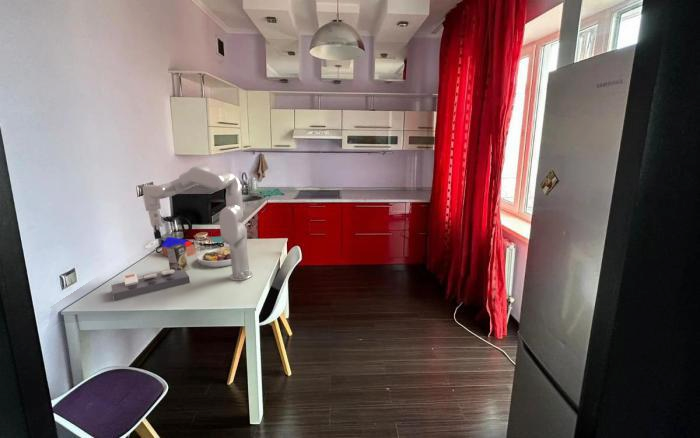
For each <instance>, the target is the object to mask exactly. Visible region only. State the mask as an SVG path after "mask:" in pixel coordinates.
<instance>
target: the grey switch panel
mask: <svg viewBox="0 0 700 438" xmlns="http://www.w3.org/2000/svg"><path fill="white" fill-rule="evenodd" d="M137 279H138V283H139V284H134V285H130V286H125V282H119V283H118V282H117V283H114V284H111V292H112V296H113V297H112V298H113V301H114V302H116V301H122V300H125V299H129V298H133V297H137V296H142V295H146V294H149V293H154V292H158V291H162V290H167V289H172V288H175V287H179V286H184V285H188V283H189V284H191V281H190V276H189V274H188V273H187V272H186V271H185V270H184V269H183V270H178V271H175V272H174V273H173V274H168V275H164V276H163V275H162V274H161V273H160V274H157V275H156V277H154V278H150V279H145V280H144V278H143V277H142V278H137Z"/></svg>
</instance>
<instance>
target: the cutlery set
mask: <svg viewBox="0 0 700 438" xmlns="http://www.w3.org/2000/svg"><path fill="white" fill-rule="evenodd" d="M209 237H210V238H211V240H212V241H213V242H217V243H218V244H219V243H220V242H223V243H225V242H224V241H223V240H222V237H221V235H218V236H215V235H214V236H209ZM212 245H214V246H213V247H212V248H210V250H211V249H215V248H221V246H218V245H217V244H216V243H214V244H213V243H212Z"/></svg>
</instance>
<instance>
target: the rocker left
mask: <svg viewBox="0 0 700 438" xmlns="http://www.w3.org/2000/svg"><path fill="white" fill-rule="evenodd" d="M122 277H123V281H124V282H125V286H130V285H134V284H139V283H138V279H139V278H138V277H137V273H134V274H128V275H124V276H122Z"/></svg>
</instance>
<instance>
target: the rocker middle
mask: <svg viewBox="0 0 700 438" xmlns="http://www.w3.org/2000/svg"><path fill="white" fill-rule="evenodd" d="M156 275H158V274H157V272H156V273H150V274H145V275H142V278H144V280H145V279H150V278H154V277H156Z"/></svg>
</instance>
